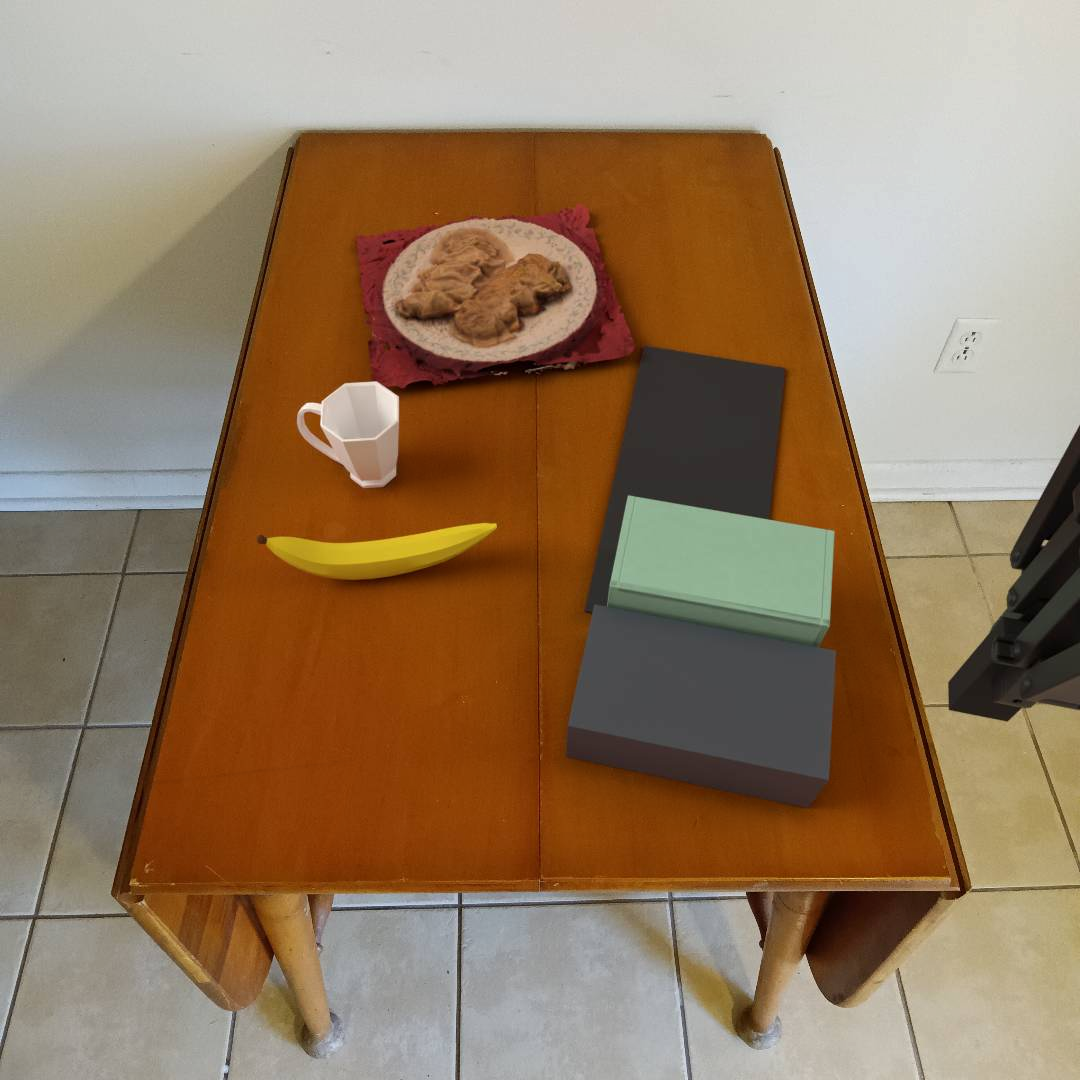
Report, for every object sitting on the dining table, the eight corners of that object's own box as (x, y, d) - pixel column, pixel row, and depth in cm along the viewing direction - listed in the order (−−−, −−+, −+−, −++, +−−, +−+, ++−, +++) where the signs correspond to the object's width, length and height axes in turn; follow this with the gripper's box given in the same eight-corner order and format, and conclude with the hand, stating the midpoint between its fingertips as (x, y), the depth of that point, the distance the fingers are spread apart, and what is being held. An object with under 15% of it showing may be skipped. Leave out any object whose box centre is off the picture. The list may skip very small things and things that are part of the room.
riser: (816, 685, 74) (836, 650, 69) (808, 808, 69) (829, 780, 64) (590, 640, 77) (594, 604, 72) (565, 756, 71) (567, 725, 66)
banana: (501, 572, 80) (499, 529, 75) (274, 595, 79) (255, 553, 74) (498, 543, 82) (495, 500, 77) (275, 565, 81) (257, 523, 75)
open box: (803, 675, 75) (809, 584, 79) (829, 626, 68) (834, 530, 73) (603, 637, 76) (620, 550, 81) (609, 586, 70) (628, 494, 74)
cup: (394, 509, 84) (382, 451, 77) (291, 481, 85) (270, 422, 79) (424, 450, 88) (414, 390, 81) (324, 424, 89) (307, 363, 82)
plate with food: (635, 366, 94) (639, 340, 91) (374, 396, 91) (369, 370, 88) (585, 216, 107) (587, 189, 104) (356, 237, 104) (351, 211, 101)
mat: (784, 369, 93) (785, 367, 93) (755, 645, 76) (755, 643, 76) (643, 347, 95) (644, 345, 95) (584, 612, 78) (584, 610, 78)
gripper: (1138, 175, 30) (898, 573, 49) (1206, 507, 23) (895, 817, 42) (1399, 209, 29) (1049, 600, 48) (1555, 566, 22) (1071, 854, 41)
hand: (977, 701), depth 45 cm, fingers closed
